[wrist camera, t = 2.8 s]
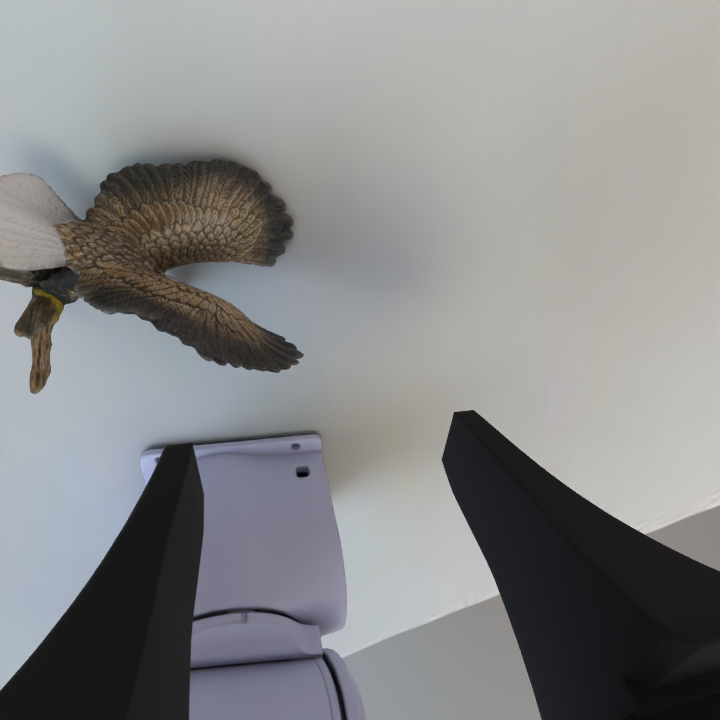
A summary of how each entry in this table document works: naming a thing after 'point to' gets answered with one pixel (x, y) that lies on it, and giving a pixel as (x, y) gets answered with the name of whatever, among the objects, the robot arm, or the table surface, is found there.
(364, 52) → the table surface
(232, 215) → the eagle figurine
